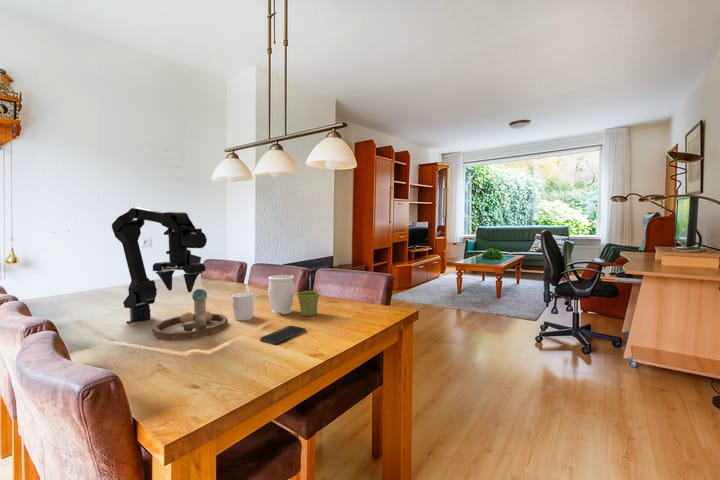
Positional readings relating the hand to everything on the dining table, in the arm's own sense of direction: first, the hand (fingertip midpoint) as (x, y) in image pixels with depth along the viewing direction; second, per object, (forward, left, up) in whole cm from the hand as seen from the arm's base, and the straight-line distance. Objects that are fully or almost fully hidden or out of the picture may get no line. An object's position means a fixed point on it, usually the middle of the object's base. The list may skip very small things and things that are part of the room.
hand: (179, 291), depth 120 cm
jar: (+24, +28, -13) cm, 39 cm away
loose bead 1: (+1, +1, -12) cm, 12 cm away
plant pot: (+36, +29, -13) cm, 48 cm away
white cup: (+16, +14, -13) cm, 25 cm away
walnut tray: (+7, -2, -13) cm, 15 cm away
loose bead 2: (+7, +4, -12) cm, 15 cm away
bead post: (+14, -5, -12) cm, 19 cm away
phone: (+40, +4, -14) cm, 42 cm away
